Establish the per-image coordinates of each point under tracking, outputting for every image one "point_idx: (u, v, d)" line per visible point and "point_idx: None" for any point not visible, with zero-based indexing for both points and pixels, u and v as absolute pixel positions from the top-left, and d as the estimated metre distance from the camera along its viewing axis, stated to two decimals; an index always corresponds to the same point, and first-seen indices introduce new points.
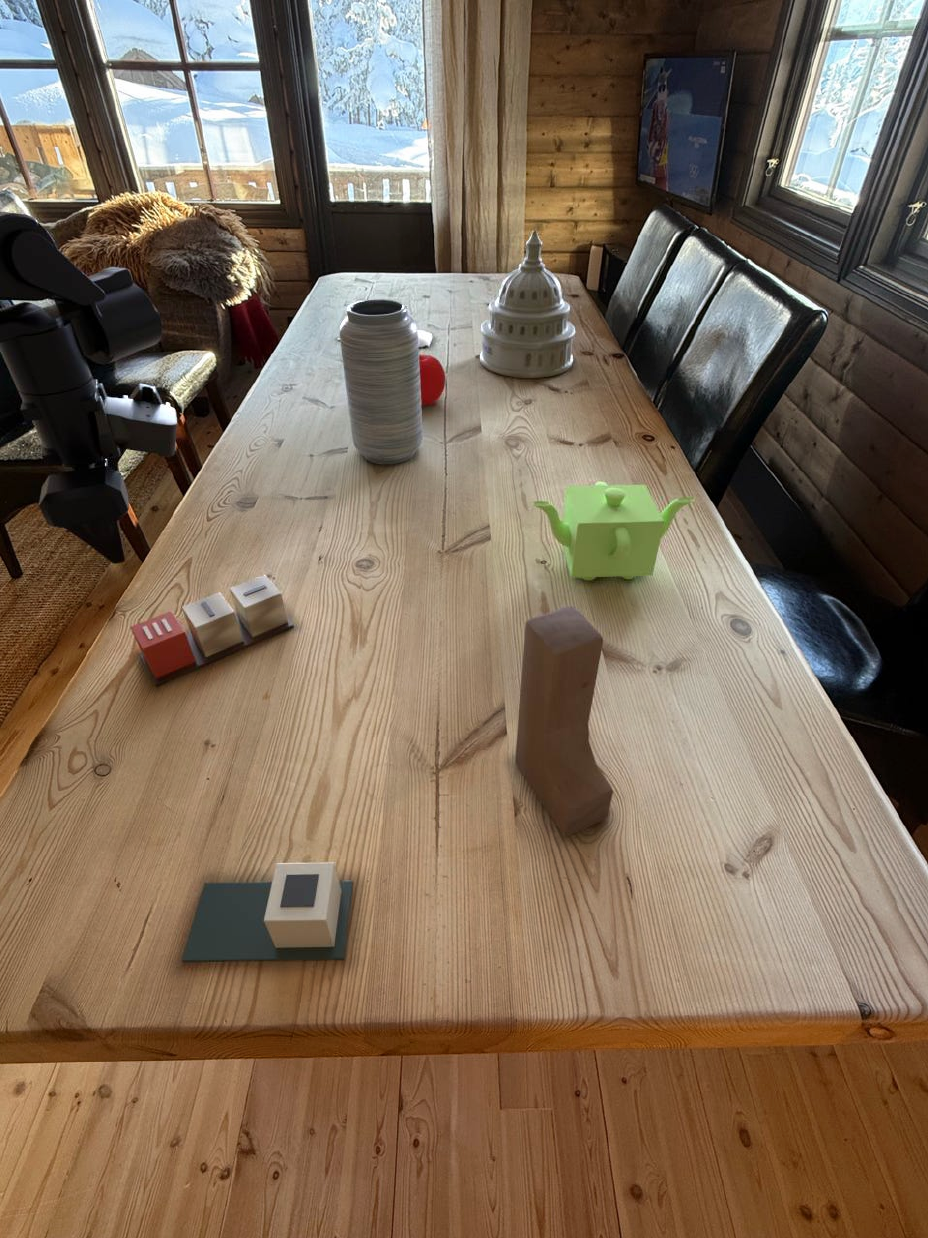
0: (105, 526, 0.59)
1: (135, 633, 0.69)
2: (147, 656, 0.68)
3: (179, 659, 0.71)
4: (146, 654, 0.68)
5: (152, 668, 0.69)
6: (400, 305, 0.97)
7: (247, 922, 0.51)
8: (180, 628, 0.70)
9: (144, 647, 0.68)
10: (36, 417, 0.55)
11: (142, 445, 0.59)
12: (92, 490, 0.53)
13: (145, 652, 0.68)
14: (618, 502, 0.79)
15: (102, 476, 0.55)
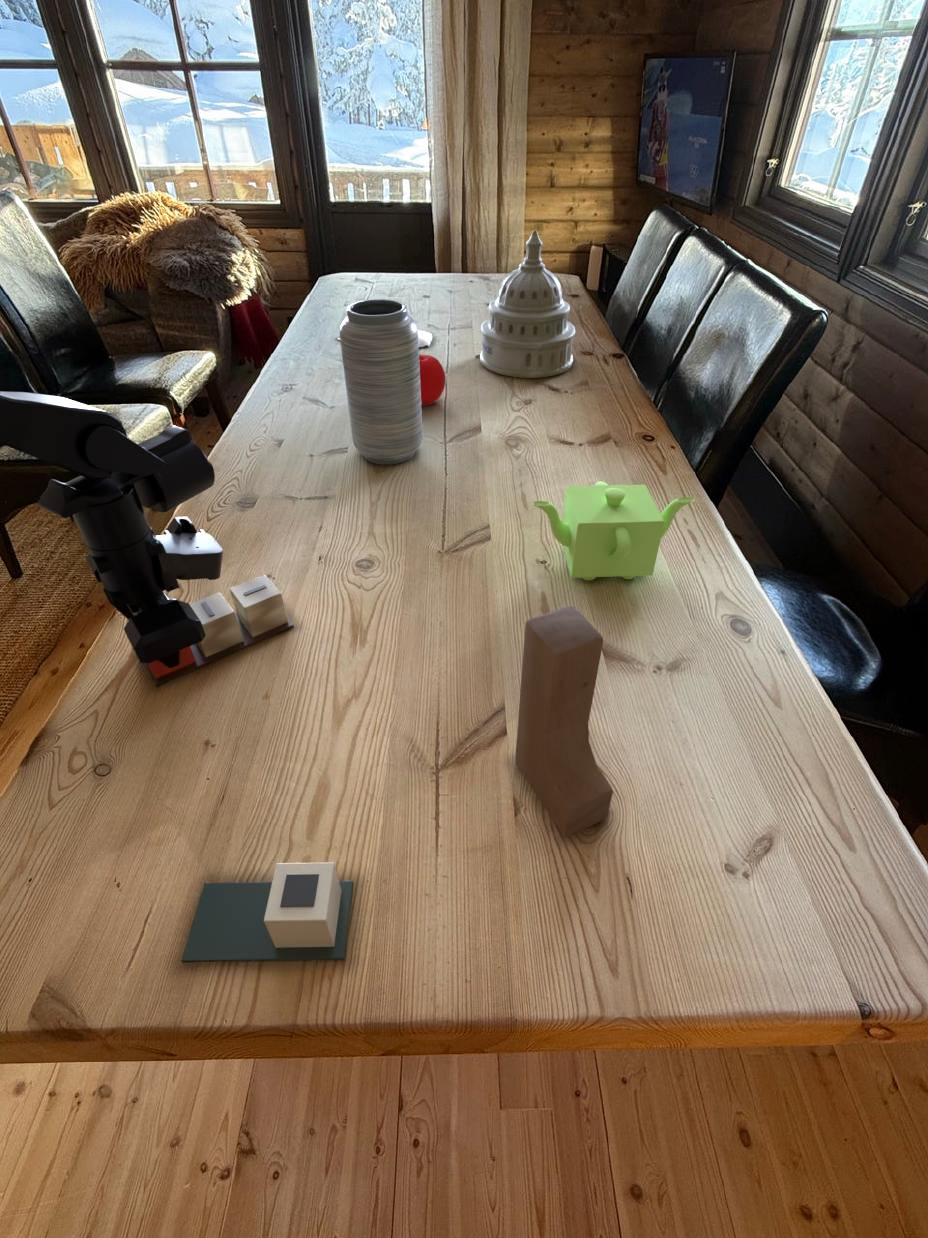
0: None
1: None
2: None
3: None
4: None
5: (152, 668, 0.69)
6: (400, 305, 0.97)
7: (247, 922, 0.51)
8: None
9: None
10: (109, 568, 0.61)
11: (196, 574, 0.66)
12: (179, 625, 0.61)
13: None
14: (618, 502, 0.79)
15: (181, 611, 0.62)
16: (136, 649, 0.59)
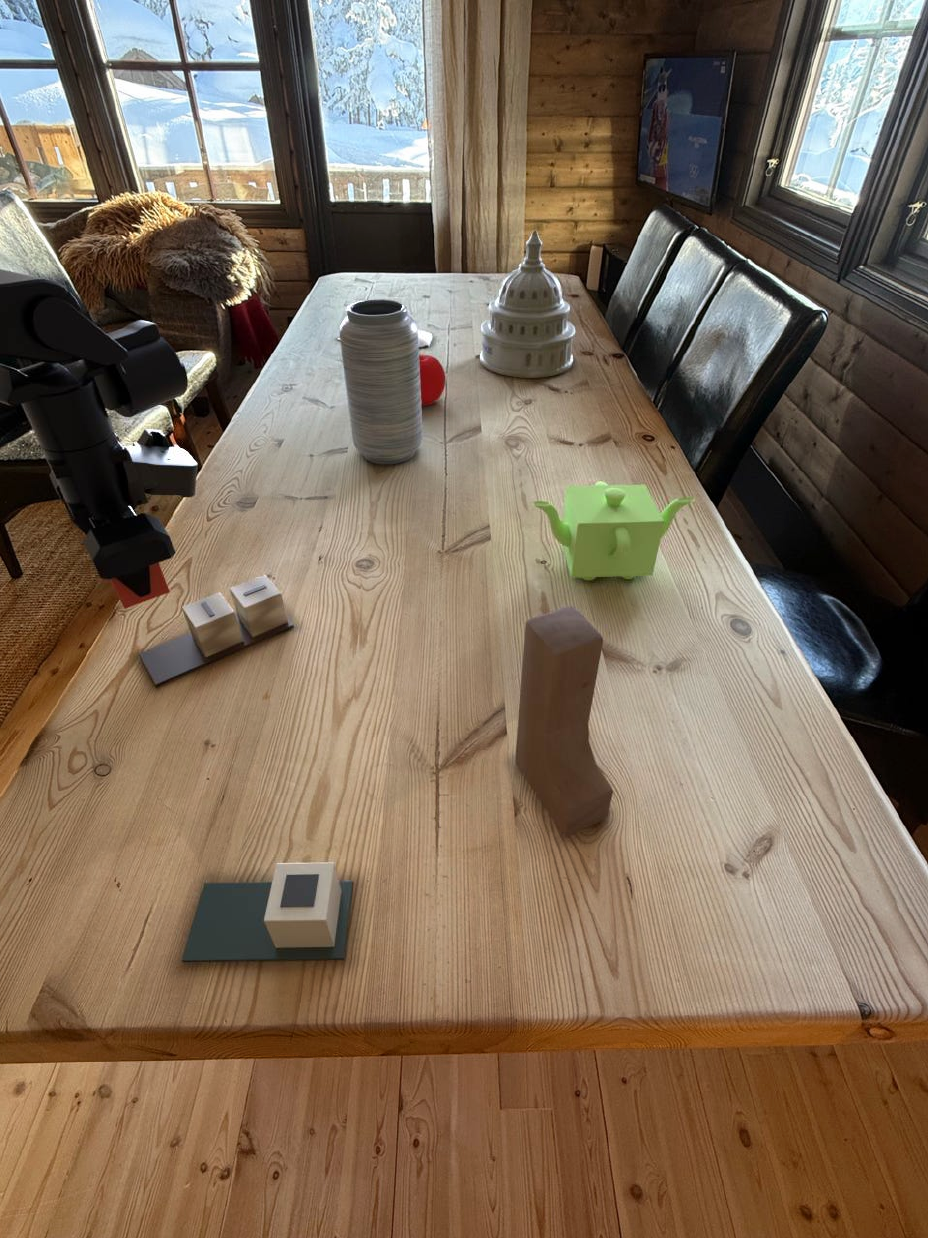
0: None
1: None
2: (114, 581, 0.62)
3: (151, 588, 0.65)
4: (113, 579, 0.62)
5: (120, 596, 0.63)
6: (400, 305, 0.97)
7: (247, 922, 0.51)
8: None
9: None
10: (67, 474, 0.54)
11: (167, 489, 0.60)
12: (144, 538, 0.54)
13: None
14: (618, 502, 0.79)
15: (147, 523, 0.56)
16: (95, 562, 0.53)
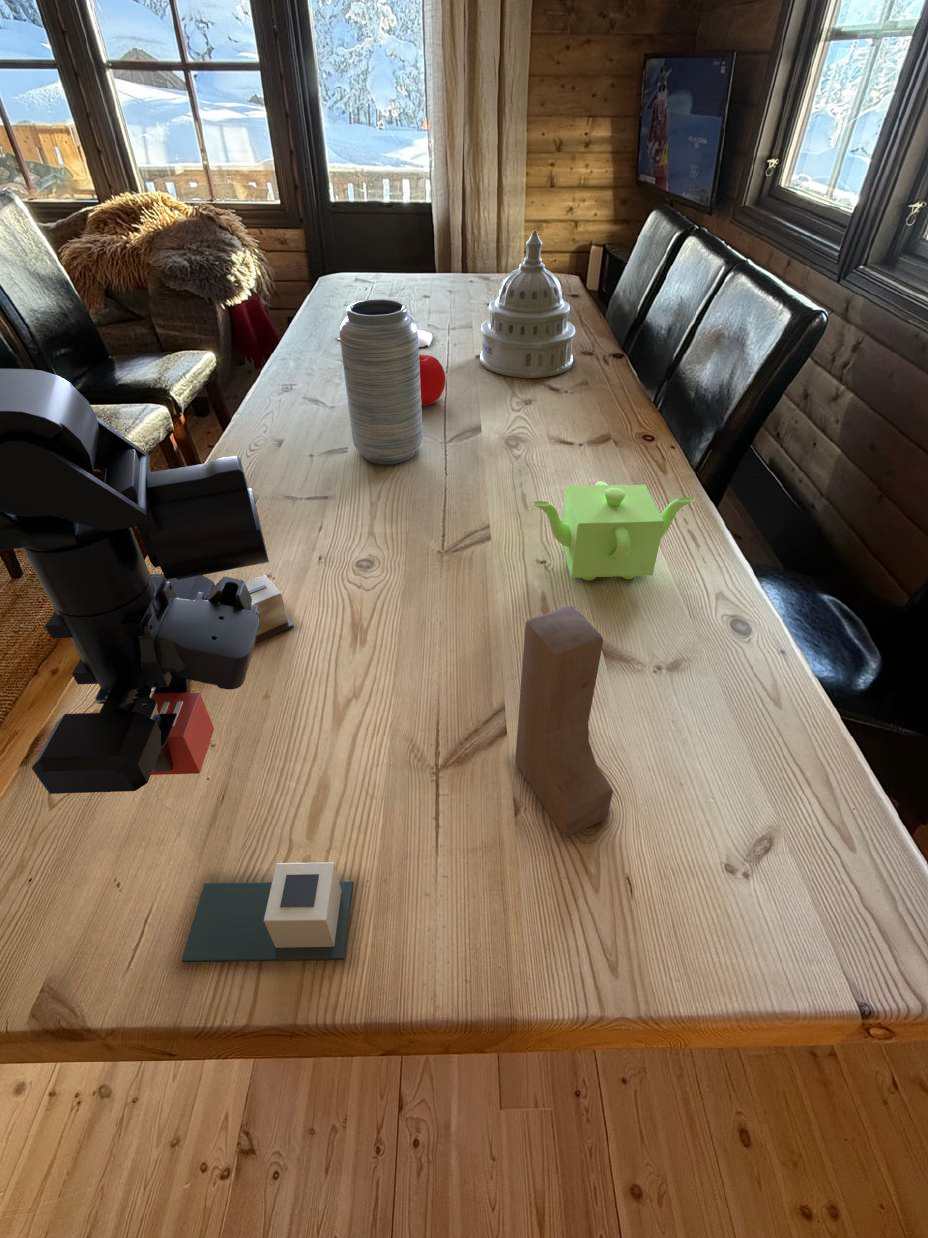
0: None
1: None
2: None
3: (175, 764, 0.49)
4: None
5: None
6: (400, 305, 0.97)
7: (247, 922, 0.51)
8: (184, 727, 0.48)
9: None
10: (65, 635, 0.40)
11: (198, 676, 0.43)
12: (98, 762, 0.38)
13: None
14: (618, 502, 0.79)
15: (121, 737, 0.39)
16: None
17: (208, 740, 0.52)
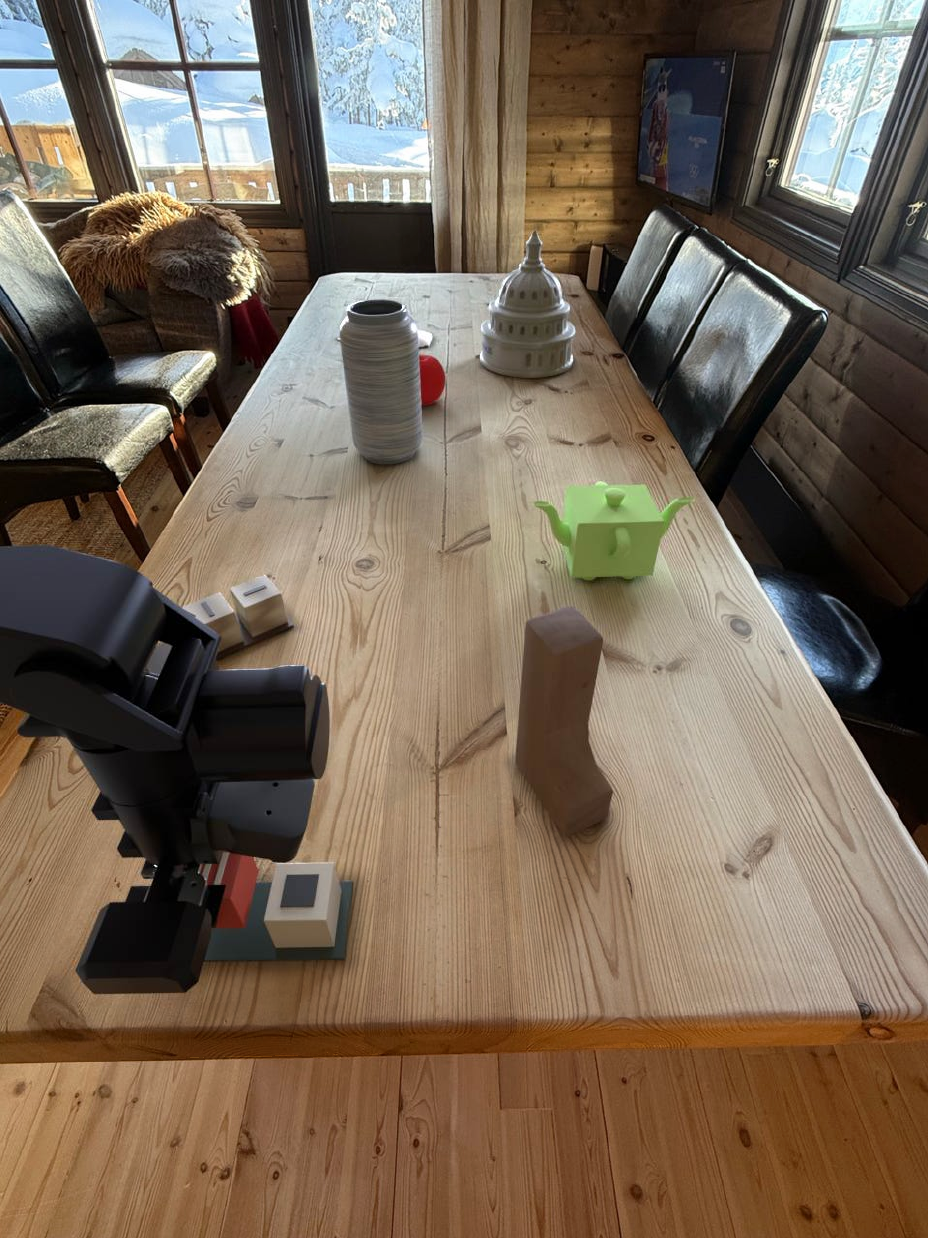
0: None
1: None
2: None
3: (220, 921, 0.46)
4: None
5: None
6: (400, 305, 0.97)
7: (247, 922, 0.51)
8: (231, 887, 0.45)
9: None
10: (112, 818, 0.37)
11: (251, 852, 0.40)
12: (148, 969, 0.35)
13: None
14: (618, 502, 0.79)
15: (171, 936, 0.36)
16: None
17: (253, 887, 0.49)
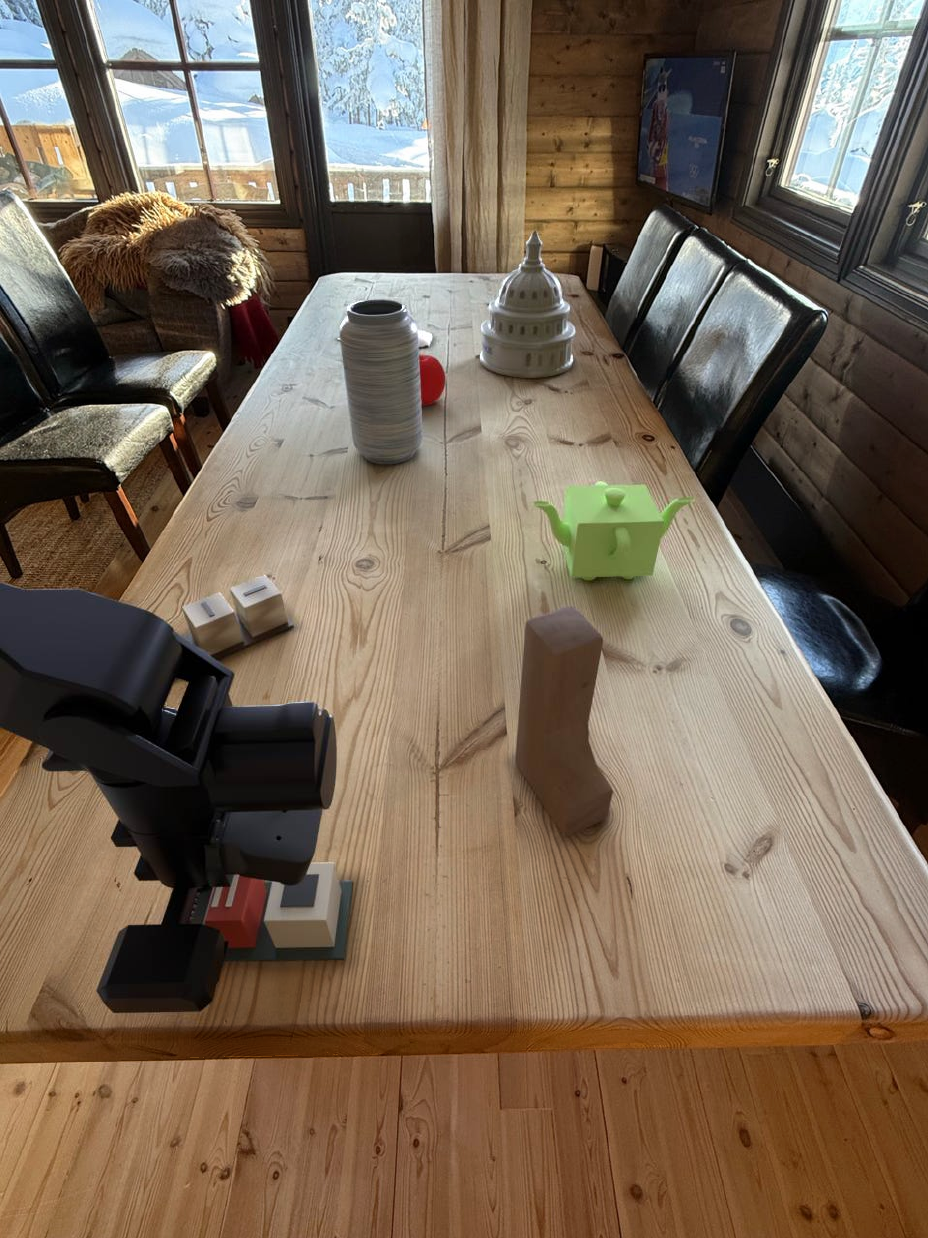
0: None
1: None
2: None
3: (230, 940, 0.48)
4: None
5: None
6: (400, 305, 0.97)
7: None
8: (241, 909, 0.47)
9: None
10: (130, 845, 0.39)
11: (262, 875, 0.42)
12: (165, 990, 0.37)
13: None
14: (618, 502, 0.79)
15: (187, 958, 0.38)
16: (98, 994, 0.37)
17: (262, 907, 0.51)
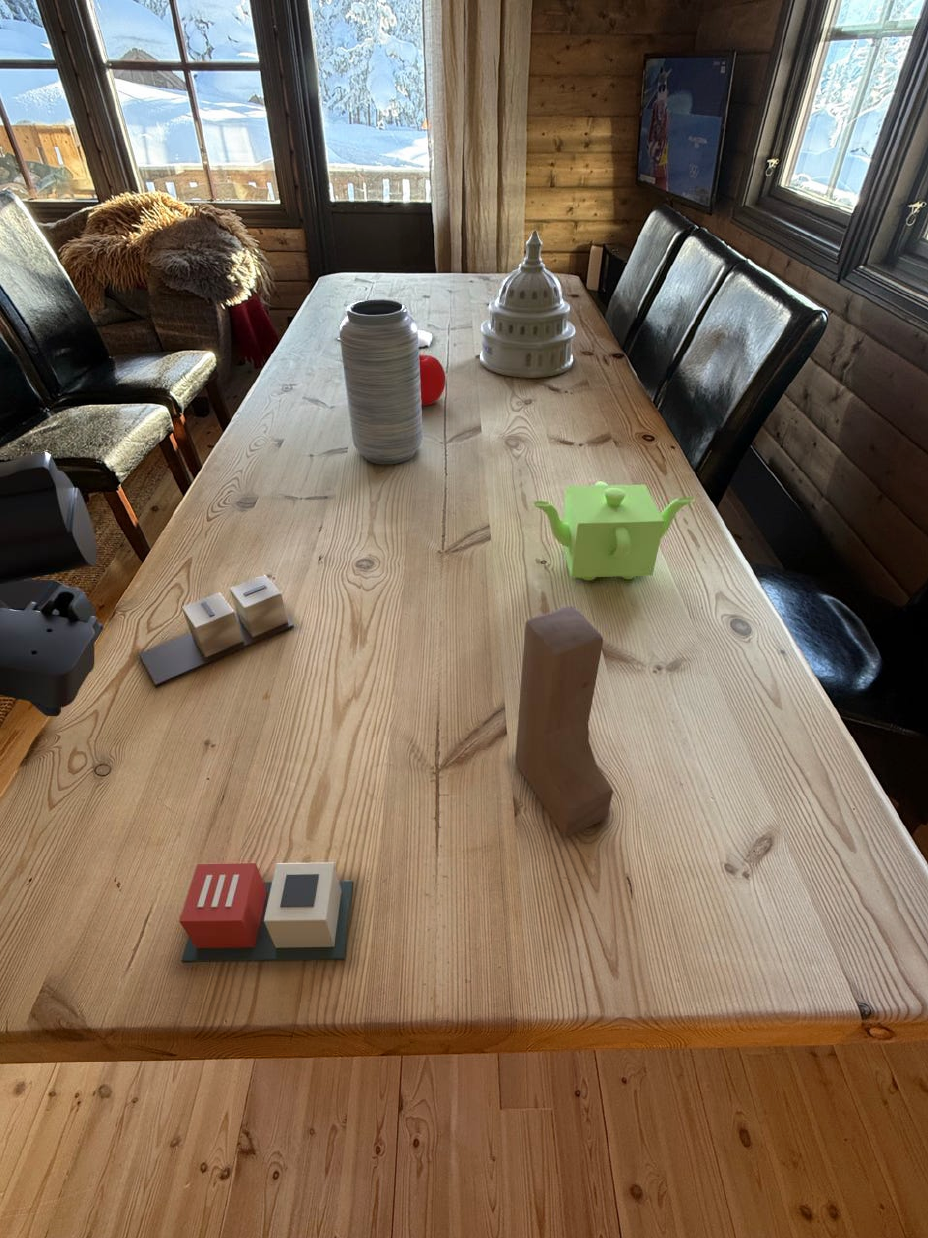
0: None
1: (193, 882, 0.48)
2: (185, 928, 0.47)
3: (230, 940, 0.48)
4: (184, 927, 0.47)
5: (192, 939, 0.48)
6: (400, 305, 0.97)
7: None
8: (241, 909, 0.47)
9: (182, 920, 0.46)
10: None
11: (17, 693, 0.40)
12: None
13: (183, 925, 0.47)
14: (618, 502, 0.79)
15: None
16: None
17: (262, 907, 0.51)
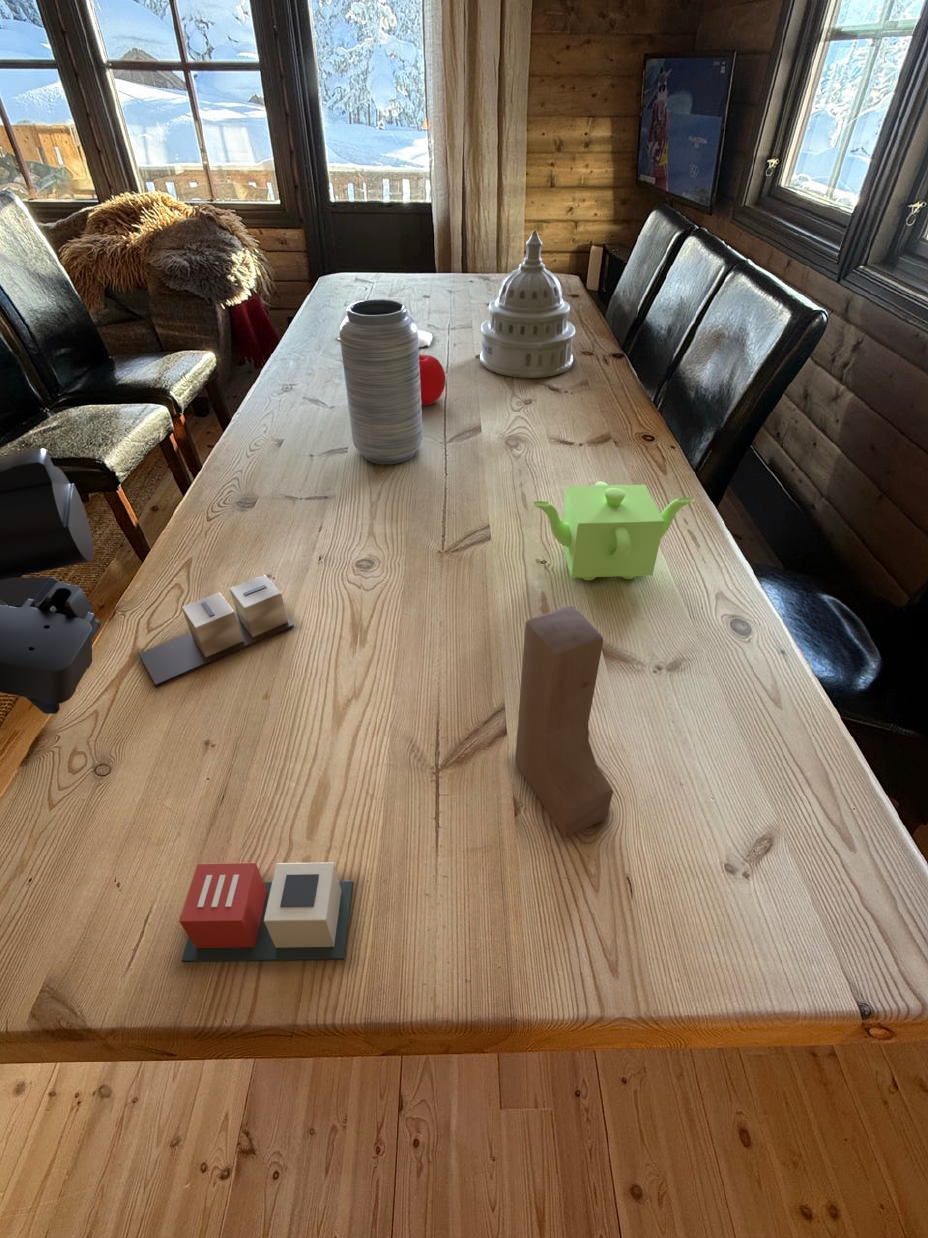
0: None
1: (193, 882, 0.48)
2: (185, 928, 0.47)
3: (230, 940, 0.48)
4: (184, 927, 0.47)
5: (192, 939, 0.48)
6: (400, 305, 0.97)
7: None
8: (241, 909, 0.47)
9: (182, 920, 0.46)
10: None
11: (15, 689, 0.40)
12: None
13: (183, 925, 0.47)
14: (618, 502, 0.79)
15: None
16: None
17: (262, 907, 0.51)
